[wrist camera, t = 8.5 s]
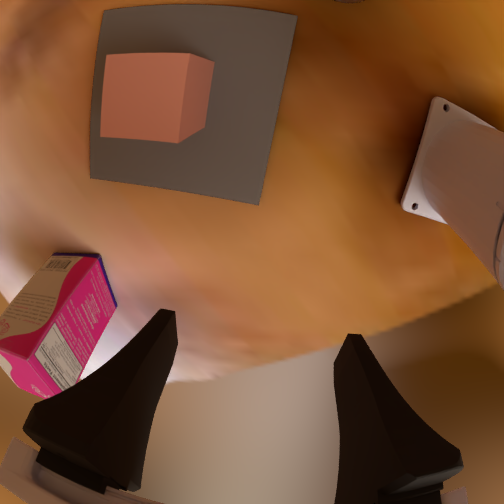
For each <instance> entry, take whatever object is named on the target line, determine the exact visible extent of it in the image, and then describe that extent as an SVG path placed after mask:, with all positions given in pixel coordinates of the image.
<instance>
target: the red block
mask: <svg viewBox="0 0 504 504" xmlns="http://www.w3.org/2000/svg"><path fill="white" fill-rule="evenodd" d="M214 63H215V62H213V61H210V60H208V59H205V58H202V57H199V56H196V55H193V54H190V53H127V54H112V55H106V63H105V71H104V81H103V93H102V107H101V129H100V137H111V138H127V139H140V140H151V141H161V142H171V143H180V142H181V141H183V140H184V139H186V138H188V137H189V136H191V135H193V134H194V133H196V132H198V131H199V130H201V129H203V128H204V127H205V123H206V115H207V108H208V101H209V95H210V88H211V82H212V75H213V69H214Z"/></svg>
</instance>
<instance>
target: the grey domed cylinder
mask: <svg viewBox="0 0 504 504" xmlns="http://www.w3.org/2000/svg"><path fill="white" fill-rule="evenodd" d="M334 1H337V2H342V3H358V2H362V1H365V0H334Z"/></svg>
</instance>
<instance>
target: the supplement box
mask: <svg viewBox="0 0 504 504" xmlns="http://www.w3.org/2000/svg"><path fill="white" fill-rule="evenodd" d="M116 308H117V303H116V301H115V298H114V295H113V292H112V290H111V287H110V284H109V281H108V278H107V275H106V272H105V269H104V265H103V262H102V258H101V255H99V254H77V253H53V254H52V256H51V257H50V258H49V259H48V260H47V261H46V262H45V263H44V265H43V266H42V267H41V268H40V269H39V270H38V271H37V272H36V273H35V275H34V276H33V277H32V278H31V279H30V280H29V282H28V283H27V284H26V285H25V286H24V287H23V289H22V290H21V291H20V292H19V293H18V295H17V296H16V297H15V298H14V299H13V301H12V302H11V303H10V304H9V306H8V307H7V308H6V310H5V311H4V312H3V314H2V315H1V316H0V366H1V367H2V368H3V370H4V371H5V372H6V373H7V375H8V376H9V377H10V378H11V379H12V380H13V382H14V383H15V384H16V385H17V386H18V387H19V388H21V389H23V390H25V391H27V392H30V393H32V394H34V395H37V396H39V397H42V398H44V399H47V398H49V397H52V396H54V395H56V394H58V393H60V392H62V391H64V390H66V389H67V388H69V387H71V386H73V385H75V384H76V383H77V382H78V380H79V378H80V376H81V374H82V372H83V370H84V368H85V366H86V364H87V362H88V360H89V358H90V356H91V354H92V352H93V350H94V348H95V346H96V344H97V342H98V340H99V339H100V337H101V335H102V333H103V331H104V329H105V327H106V326H107V324H108V322H109V320H110V318H111V317H112V315H113V313H114V311H115V309H116Z"/></svg>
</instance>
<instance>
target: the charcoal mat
mask: <svg viewBox="0 0 504 504" xmlns="http://www.w3.org/2000/svg"><path fill="white" fill-rule="evenodd" d="M297 17H298V16H296V15H291V14H285V13H280V12H274V11H267V10H260V9H253V8H244V7H234V6H221V5H199V4H172V5H150V6H137V7H127V8H119V9H112V10H105V11H104V14H103V18H102V23H101V29H100V34H99V40H98V47H97V54H96V61H95V69H94V78H93V89H92V102H91V121H90V178H92V179H100V180H108V181H115V182H123V183H130V184H137V185H144V186H150V187H157V188H163V189H170V190H176V191H182V192H188V193H194V194H200V195H206V196H211V197H217V198H222V199H228V200H233V201H239V202H244V203H249V204H254V205H259V202H260V197H261V192H262V187H263V182H264V177H265V173H266V168H267V163H268V158H269V153H270V148H271V143H272V138H273V133H274V128H275V124H276V119H277V114H278V109H279V104H280V99H281V94H282V90H283V85H284V80H285V75H286V70H287V65H288V60H289V56H290V51H291V46H292V41H293V36H294V31H295V27H296V22H297ZM127 53H190V54H193V55H196V56H199V57H202V58H205V59H208V60H210V61H213V62H215V63H214V69H213V75H212V82H211V88H210V95H209V101H208V108H207V115H206V123H205V127H204V128H203V129H201V130H199V131H198V132H196V133H194V134H193V135H191V136H189V137H188V138H186V139H184V140H183V141H181V142H180V143H171V142H161V141H151V140H140V139H127V138H111V137H100V129H101V107H102V93H103V81H104V71H105V63H106V55H112V54H127Z"/></svg>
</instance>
